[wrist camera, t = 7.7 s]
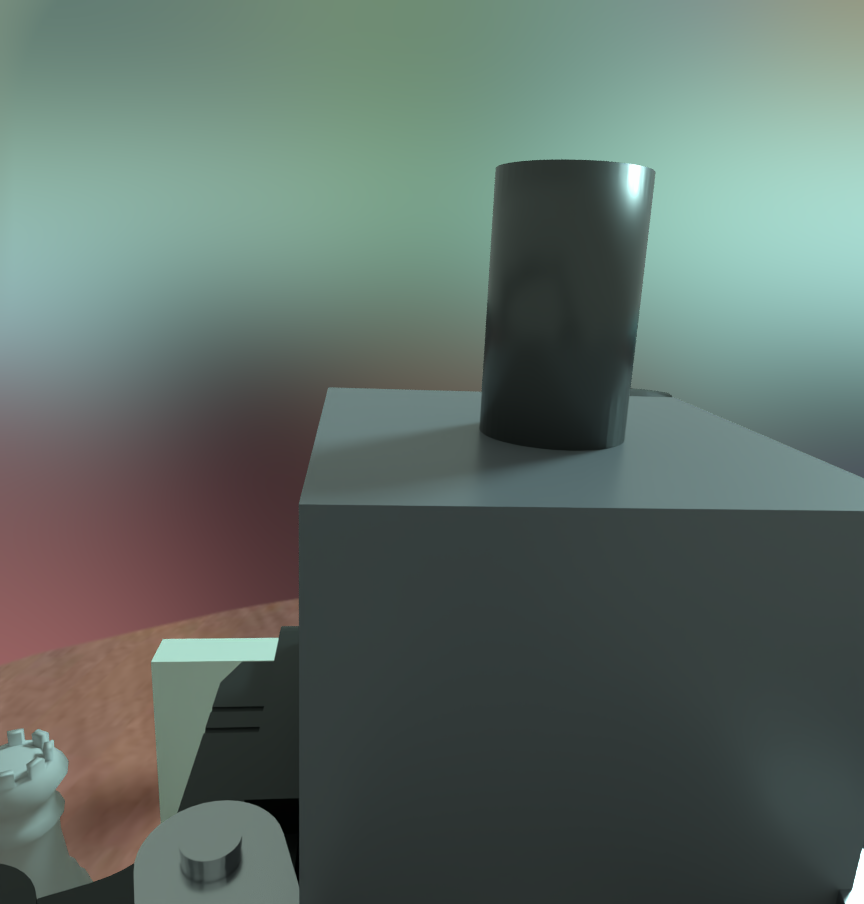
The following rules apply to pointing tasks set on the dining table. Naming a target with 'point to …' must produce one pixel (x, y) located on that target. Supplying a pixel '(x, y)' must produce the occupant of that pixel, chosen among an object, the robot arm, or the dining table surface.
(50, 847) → the rook chess piece
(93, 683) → the dining table surface
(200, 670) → the socket
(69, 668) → the dining table surface
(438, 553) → the plug
